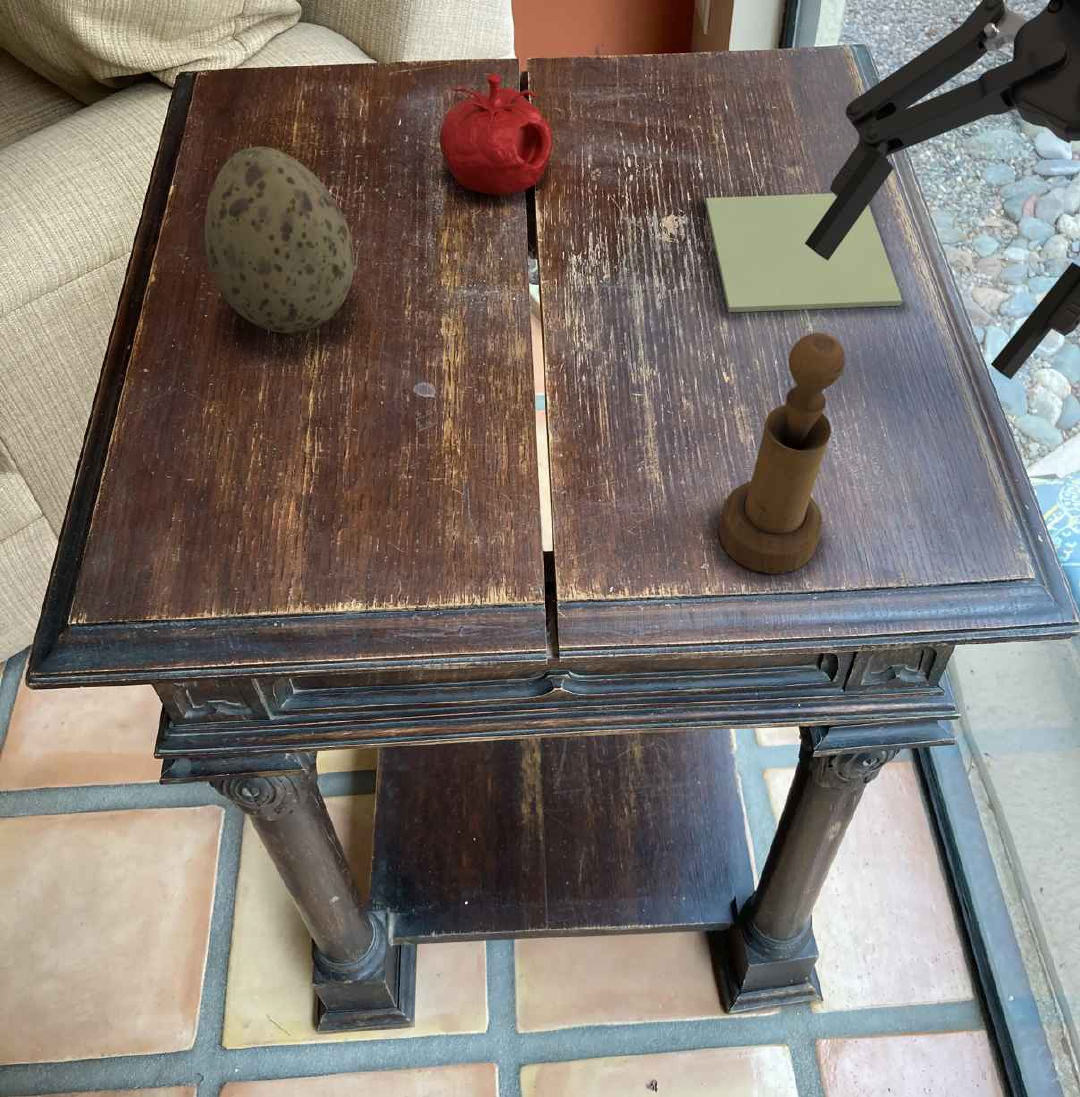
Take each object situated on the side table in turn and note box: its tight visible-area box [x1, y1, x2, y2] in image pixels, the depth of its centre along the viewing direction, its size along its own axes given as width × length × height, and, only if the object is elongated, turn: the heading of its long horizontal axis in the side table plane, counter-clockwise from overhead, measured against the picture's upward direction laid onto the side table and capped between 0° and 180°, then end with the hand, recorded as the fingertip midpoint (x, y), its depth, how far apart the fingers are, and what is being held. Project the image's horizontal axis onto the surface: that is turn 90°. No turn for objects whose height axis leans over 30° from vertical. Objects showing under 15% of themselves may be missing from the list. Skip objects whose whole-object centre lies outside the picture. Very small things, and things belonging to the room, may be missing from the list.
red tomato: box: [438, 72, 553, 196], centre depth 91 cm, size 10×10×9 cm
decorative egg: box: [204, 146, 355, 334], centre depth 79 cm, size 11×11×15 cm
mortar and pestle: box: [718, 332, 846, 575], centre depth 64 cm, size 7×6×18 cm
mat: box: [704, 192, 903, 313], centre depth 88 cm, size 14×14×1 cm
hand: (903, 310), depth 62 cm, fingers open, 13 cm apart
